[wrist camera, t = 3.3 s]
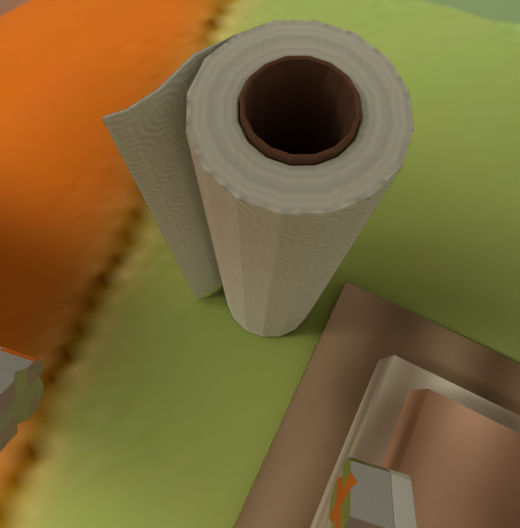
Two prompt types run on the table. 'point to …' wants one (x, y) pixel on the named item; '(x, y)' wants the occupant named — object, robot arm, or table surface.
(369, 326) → the brown square stepped pedestal
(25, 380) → the robot arm
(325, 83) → the paper towel roll
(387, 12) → the table surface
